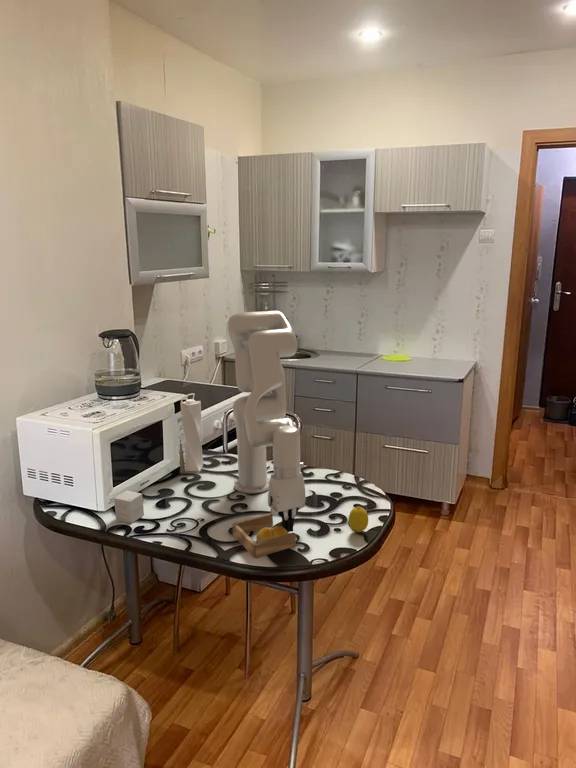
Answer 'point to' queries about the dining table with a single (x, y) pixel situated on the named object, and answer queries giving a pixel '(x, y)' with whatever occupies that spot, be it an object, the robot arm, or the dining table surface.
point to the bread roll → (270, 533)
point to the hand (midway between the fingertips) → (288, 529)
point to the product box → (129, 506)
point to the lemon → (358, 519)
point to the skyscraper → (191, 436)
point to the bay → (265, 546)
